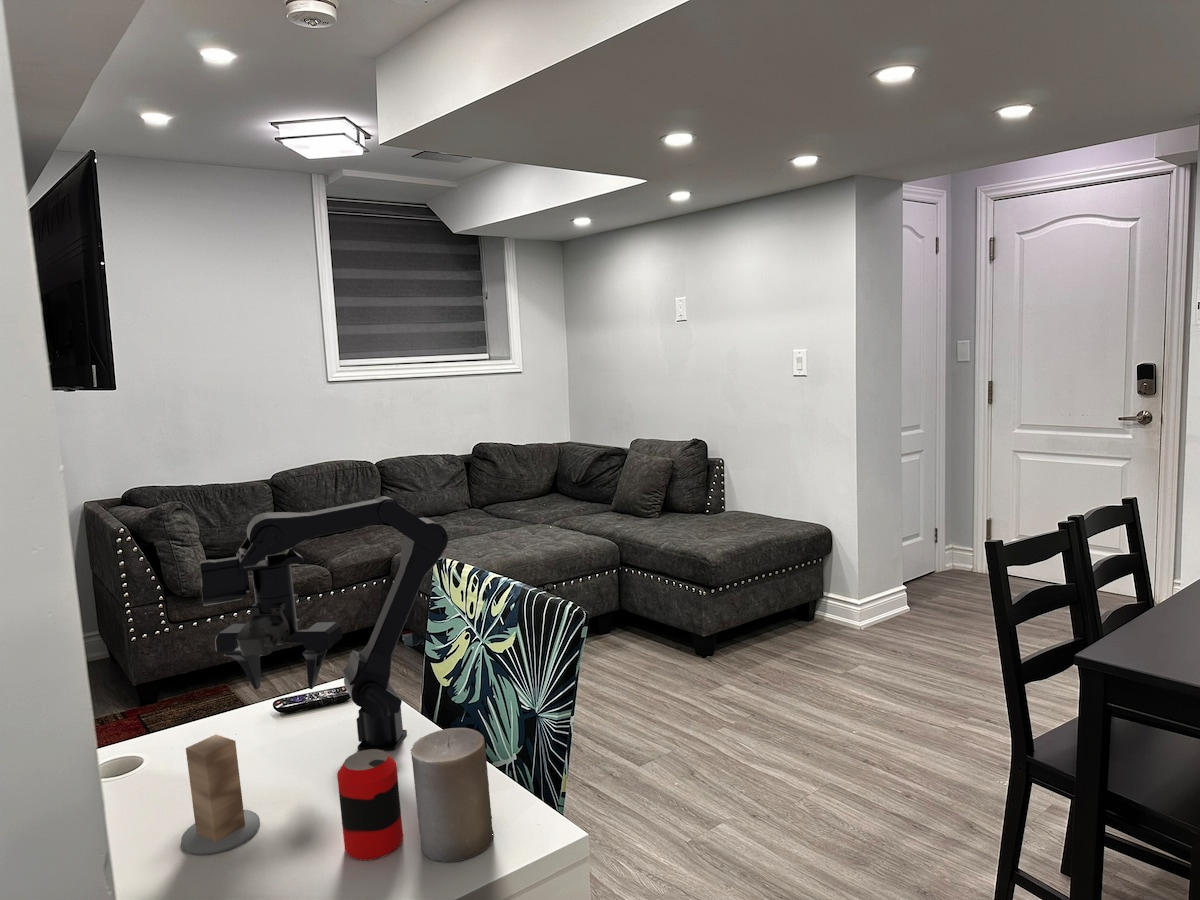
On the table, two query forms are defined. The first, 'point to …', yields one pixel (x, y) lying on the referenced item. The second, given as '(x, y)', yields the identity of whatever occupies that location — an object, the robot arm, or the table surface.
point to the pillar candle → (452, 794)
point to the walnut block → (215, 787)
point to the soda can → (370, 804)
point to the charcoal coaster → (206, 846)
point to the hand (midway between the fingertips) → (284, 688)
